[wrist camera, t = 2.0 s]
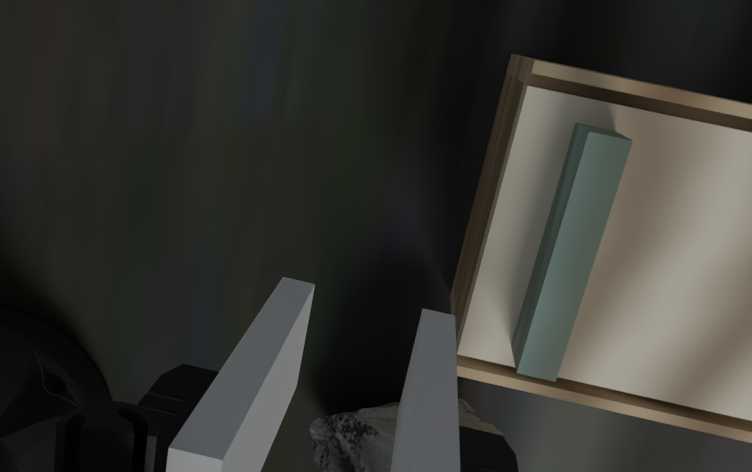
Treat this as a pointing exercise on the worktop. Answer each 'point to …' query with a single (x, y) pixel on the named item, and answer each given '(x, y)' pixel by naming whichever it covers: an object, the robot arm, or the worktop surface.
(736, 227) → the cover plate
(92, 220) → the worktop surface
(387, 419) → the stone
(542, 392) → the box
